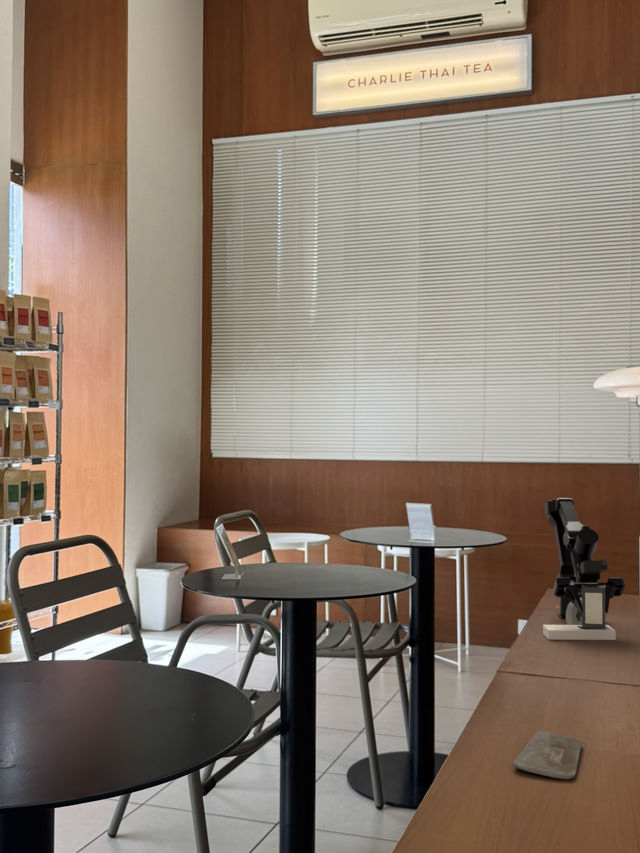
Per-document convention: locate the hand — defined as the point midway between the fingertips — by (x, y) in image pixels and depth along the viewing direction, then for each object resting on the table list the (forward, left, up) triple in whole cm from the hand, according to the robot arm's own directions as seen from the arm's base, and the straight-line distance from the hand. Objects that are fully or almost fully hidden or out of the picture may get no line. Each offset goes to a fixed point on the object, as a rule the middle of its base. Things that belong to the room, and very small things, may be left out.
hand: (594, 612), depth 235 cm
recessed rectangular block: (-1, -4, -7) cm, 8 cm away
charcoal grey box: (-1, 0, -5) cm, 5 cm away
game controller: (-16, +2, -7) cm, 18 cm away
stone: (+90, -32, -8) cm, 96 cm away
